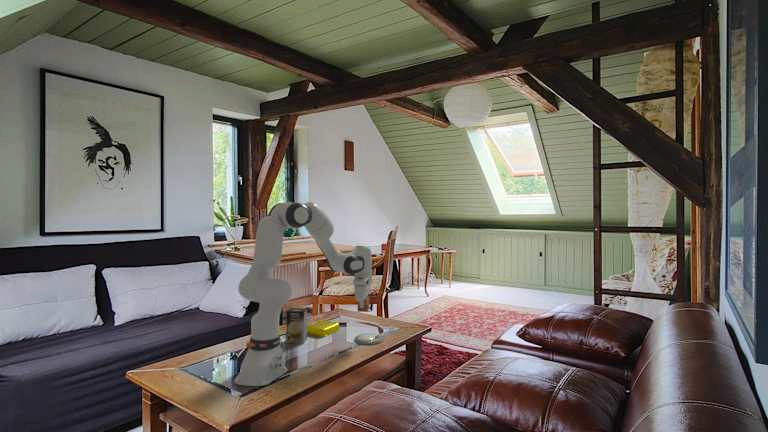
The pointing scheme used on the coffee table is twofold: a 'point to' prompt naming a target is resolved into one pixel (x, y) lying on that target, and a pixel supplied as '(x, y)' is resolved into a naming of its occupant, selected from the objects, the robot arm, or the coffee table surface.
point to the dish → (367, 339)
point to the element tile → (322, 328)
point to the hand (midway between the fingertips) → (363, 305)
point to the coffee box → (296, 325)
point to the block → (366, 305)
